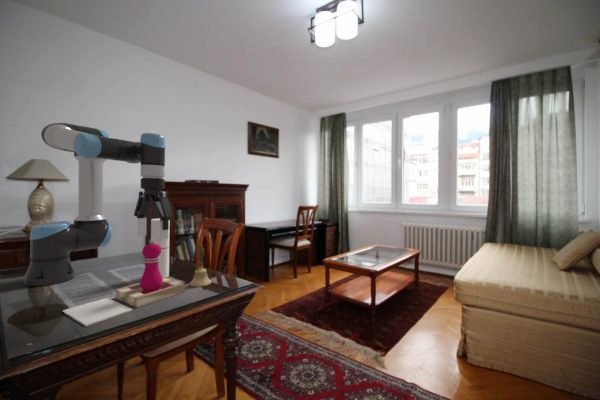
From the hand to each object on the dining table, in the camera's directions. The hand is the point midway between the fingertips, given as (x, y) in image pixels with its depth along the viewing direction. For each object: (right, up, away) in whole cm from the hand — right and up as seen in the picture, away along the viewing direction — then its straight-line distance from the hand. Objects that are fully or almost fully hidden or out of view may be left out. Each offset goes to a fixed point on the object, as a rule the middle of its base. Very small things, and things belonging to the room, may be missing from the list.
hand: (152, 237), depth 96 cm
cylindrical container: (-9, -20, +22) cm, 31 cm away
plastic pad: (-9, -21, -14) cm, 26 cm away
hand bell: (+12, -21, +14) cm, 28 cm away
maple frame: (-1, -21, +1) cm, 21 cm away
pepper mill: (-1, -21, +1) cm, 21 cm away
